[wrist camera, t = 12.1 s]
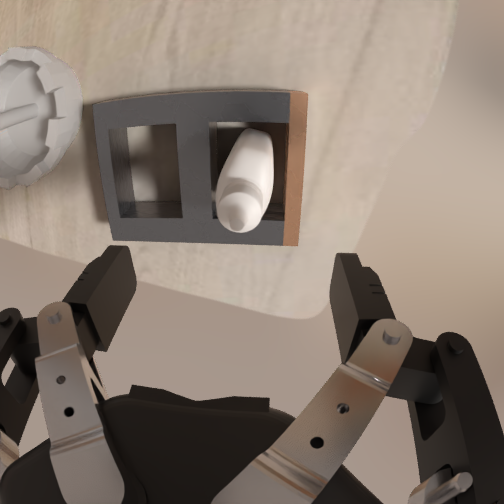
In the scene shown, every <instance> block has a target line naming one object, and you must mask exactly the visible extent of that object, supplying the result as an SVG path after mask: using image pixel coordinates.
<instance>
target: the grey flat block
mask: <svg viewBox="0 0 504 504" xmlns="http://www.w3.org/2000/svg"><path fill="white" fill-rule="evenodd" d="M92 105H93V116H94V127H95V136H96V144H97V152H98V160H99V167H100V173H101V180H102V186H103V192H104V198H105V203H106V209H107V214H108V219H109V224H110V229H111V233H112V238H113V240H114V241H152V242H186V243H219V244H249V245H279V246H298V239H299V227H300V215H301V203H302V190H303V176H304V161H305V145H306V127H307V106H308V94H307V93H305V92H301V91H283V90H204V91H186V92H172V93H161V94H151V95H142V96H134V97H126V98H119V99H113V100H108V101H104V102H100V103H96V104H92ZM217 122H275V123H287V126H286V152H285V174H284V194H283V204H280V203H269V204H268V207H267V209H266V211H265V213H264V214H263V216H262V218H261V220H260V222H259V224H258V225H257V226H256V227H255V228H253V229H252V230H251V231H247V232H245V233H244V232H243V233H239V232H238V233H237V232H233V231H230V230H228V229H227V228H225V227H224V226H223V225H222V224H221V223H220V221H219V219H218V217H217V216H218V215H217V209H216V189H217V184H218V154H217ZM175 123H176V133H177V150H178V165H179V178H180V191H181V202H135V197H134V190H133V183H132V175H131V167H130V158H129V149H128V139H127V128H126V127H135V126H146V125H159V124H175Z"/></svg>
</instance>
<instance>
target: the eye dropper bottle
mask: <svg viewBox="0 0 504 504" xmlns="http://www.w3.org/2000/svg"><path fill="white" fill-rule="evenodd" d="M273 180H274V164H273V144H272V139H271V136H270V134H268V133H267V132H263V131H260V130H255V129H251V128H250V129H246V130H244V131H243V132H242V133H241V134H240V136H239V137H238V139H237V140H236V142H235V144H234V146H233V148H232V150H231V152H230V154H229V156H228V158H227V160H226V162H225V164H224V166H223V169H222V171H221V174H220V177H219V180H218V184H217V189H216V209H217V215H218V216H217V217H218V219H219V221H220V223H221V224H222V225H223V226H224V227H225V228H227V229H228V230H230V231H233V232H237V233H238V232H239V233H243V232H244V233H245V232H247V231H251V230H252V229H253V228H255V227H256V226H257V225H258V224H259V222H260V220H261V218H262V216H263V214H264V213H265V211H266V209H267V207H268V204H269V201H270V198H271V194H272V189H273Z"/></svg>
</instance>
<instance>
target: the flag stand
mask: <svg viewBox="0 0 504 504" xmlns="http://www.w3.org/2000/svg"><path fill="white" fill-rule="evenodd" d="M82 112H83V97H82V91H81V86H80V84H79V81H78V78H77V76H76V74H75V73H74V71H73V69H72V68H71V67H70V66H69V65H68V64H67V63H66V62H64V61H63V60H61V59H59V58H57V57H55V56H54V55H53V54H52V53H51V52H49V51H47V50H46V49H44V48H40V47H36V46H27V47H12V48H8V51H6V52H5V53H3V54H2V55H0V187H1V188H4V189H8V190H10V189H12V188H13V187H15V186H16V185H26V187H28V186H29V185H31V184H33V183H34V182H36V181H37V180H39V179H40V178H42V177H44V176H45V175H47V174H48V173H50V172H51V171H52V170H53V169H54V168H55V167H56V166H57V165H58V163H59V162H60V160H61V159H62V157H63V156H64V154H65V151H66V150H67V149H68V148H69V146H70V145H71V144H72V142H73V141H74V139H75V137H76V135H77V132H78V130H79V127H80V123H81V120H82Z"/></svg>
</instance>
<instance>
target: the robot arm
mask: <svg viewBox="0 0 504 504" xmlns="http://www.w3.org/2000/svg"><path fill="white" fill-rule="evenodd" d="M136 284H137V281H136V275H135V271H134V267H133V262H132V258H131V253H130V250H129V248H128V246H117V245H110V246H108V247H107V249H106V250H105V251H104V253H103V254H102V255H101V257H97V258H96V259H95V260H93V261H92V262H91V263H89V264H88V265H87V267H86V268H85V269H84V271H83V273H82V274H81V275H80V276H79V278H78V281H76V282H75V283H74V285H73V286H72V287H71V289H70V290H69V292H68V293H67V295H66V296H65V298H64V299H63V301H62V302H54V303H51V304H49V305H47V306H45V307H44V308H43V309H42V310H41V311H40V312H39V314H38V316H37V317H33V318H24V319H23V317H22V315H21V313H20V311H19V310H18V309H16V308H8V309H5V310H3V311H1V312H0V504H383V503H382V502H381V501H380V500H379V499H378V498H377V497H376V496H375V495H374V494H372V493H371V492H370V491H369V490H368V489H367V488H366V487H365V486H364V485H363V484H362V483H361V482H360V481H359V480H358V479H357V478H356V477H355V476H354V475H353V474H352V473H351V472H350V471H349V470H347V468H345V466H344V465H343V464H342V463H343V461H344V460H345V458H346V457H347V456H348V454H349V453H350V451H351V450H352V448H353V447H354V445H355V444H356V442H357V441H358V439H359V438H360V436H361V435H362V433H363V432H364V430H365V428H366V427H367V425H368V424H369V422H370V420H371V419H372V417H373V415H374V414H375V412H376V410H377V409H378V407H379V405H380V403H381V402H382V400H383V399H384V397H385V396H389V397H394V398H399V399H404V400H407V402H408V408H409V413H410V418H411V423H412V429H413V435H414V441H415V447H416V454H417V460H418V468H419V475H420V483H421V484H420V485H418V486H417V487H416V488H415V489H414V490H413V491H412V492H411V494H410V496H409V499H408V504H504V435H503V431H502V428H501V424H500V421H499V418H498V415H497V412H496V409H495V406H494V403H493V400H492V397H491V395H490V392H489V389H488V386H487V384H486V381H485V378H484V376H483V373H482V370H481V368H480V366H479V363H478V361H477V358H476V356H475V354H474V351H473V349H472V346H471V345H470V343H469V342H468V341H467V339H465V338H464V337H463V336H461V335H459V334H457V333H454V332H445V333H442V334H441V335H440V336H439V337H438V338H437V340H436V342H432V341H428V340H423V339H419V338H415V337H413V335H412V333H411V331H410V329H409V328H408V327H407V326H406V325H405V324H403V323H402V322H400V321H397V320H396V318H395V315H394V313H393V310H392V308H391V305H390V303H389V301H388V298H387V295H386V294H385V291H384V288H383V286H382V284H381V282H380V279H379V276H378V275H377V274H376V273H375V272H374V271H373V270H372V269H371V268H370V267H362V265H361V262H360V260H359V258H358V255H357V254H356V253H337V254H336V257H335V262H334V268H333V273H332V279H331V284H330V304H331V309H332V313H333V318H334V323H335V329H336V333H337V339H338V344H339V349H340V355H341V361H342V363H341V364H340V365H339V367H338V368H337V369H336V371H335V372H334V373H333V374H332V376H331V377H330V378H329V379H328V381H327V382H326V383H325V385H324V386H323V387H322V388H321V389H320V391H319V392H318V393H317V394H316V396H315V397H314V398H313V399H312V401H311V402H310V403H309V404H308V405H307V406H306V408H305V409H304V410H303V411H302V412H301V414H300V415H299V416H298V417H297V418H295V417H293V416H291V415H289V414H287V413H285V412H283V411H280V410H277V409H273V408H270V407H269V401H270V398H260V397H237V396H232V397H226V398H219V399H211V400H203V401H194V400H191V399H188V398H185V397H183V396H180V395H176V394H174V393H172V392H169V391H166V390H164V389H157V388H150V387H144V386H137V385H132V387H131V389H130V393H129V394H125V395H119V396H116V397H112V398H109V396H108V394H107V392H106V389H105V386H104V384H103V381H102V378H101V375H100V373H99V370H98V367H97V364H96V361H95V359H94V357H93V354H94V352H95V350H98V351H104V352H107V350H108V348H109V346H110V343H111V341H112V339H113V337H114V335H115V333H116V330H117V328H118V326H119V324H120V322H121V320H122V318H123V316H124V314H125V312H126V310H127V308H128V305H129V303H130V301H131V299H132V297H133V295H134V293H135V291H136ZM10 357H11V359H12V360H13V362H14V363H15V367H14V369H13V370H12V373H11V374H10V377H9V379H8V380H7V383H6V385H5V386H4V385H3V383H2V379H1V374H2V371H3V369H4V367H5V365H6V364H7V362H8V360H9V358H10ZM39 391H40V396H41V402H42V407H43V412H44V416H45V421H46V425H47V429H48V433H49V437H50V438H48V439H47V440H45V441H44V442H42V443H41V444H40V445H38V446H37V447H35V448H34V449H32V450H31V451H29V452H27V453H26V454H24V455H23V456H21V457H20V458H19V449H18V446H19V443H20V440H21V437H22V434H23V431H24V429H25V426H26V423H27V421H28V418H29V416H30V413H31V411H32V408H33V406H34V403H35V400H36V398H37V396H38V393H39Z"/></svg>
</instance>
